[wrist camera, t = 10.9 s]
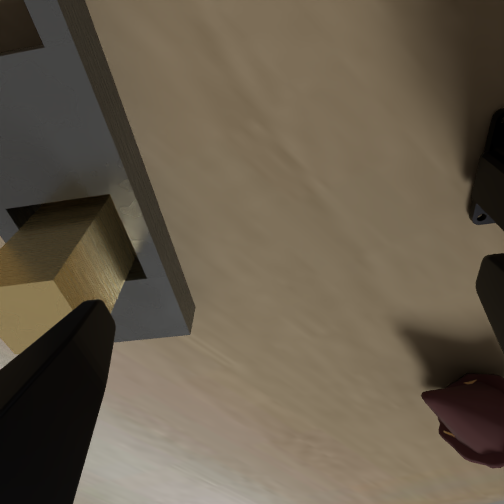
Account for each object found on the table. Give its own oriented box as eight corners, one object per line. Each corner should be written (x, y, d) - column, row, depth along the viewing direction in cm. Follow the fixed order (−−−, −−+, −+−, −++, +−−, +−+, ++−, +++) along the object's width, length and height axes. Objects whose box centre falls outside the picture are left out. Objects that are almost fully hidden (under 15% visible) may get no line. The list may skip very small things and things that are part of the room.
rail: (-75, -441, 9) (-163, -552, 7) (195, 307, 26) (190, 334, 24) (-326, -351, 10) (-467, -431, 8) (90, 318, 27) (77, 346, 25)
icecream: (389, 456, 26) (503, 484, 32) (492, 444, 21) (605, 481, 27) (376, 362, 30) (479, 403, 36) (460, 334, 25) (563, 387, 31)
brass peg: (117, 185, 20) (53, 280, 14) (141, 242, 23) (96, 345, 16) (51, 195, 21) (-41, 291, 14) (81, 250, 23) (15, 354, 17)
